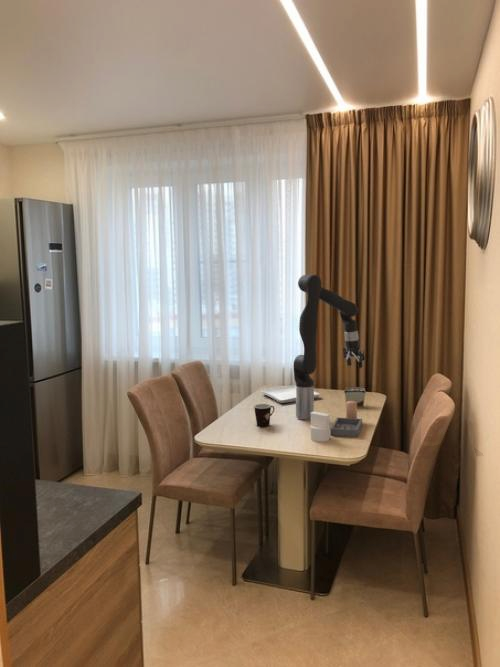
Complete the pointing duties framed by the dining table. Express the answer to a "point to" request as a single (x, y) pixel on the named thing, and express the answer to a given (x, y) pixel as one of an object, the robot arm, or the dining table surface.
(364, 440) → the dining table surface
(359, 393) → the food container
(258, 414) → the coffee mug
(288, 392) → the closed laptop
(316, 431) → the cylinder with rectangular tab
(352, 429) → the tray
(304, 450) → the dining table surface
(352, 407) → the tan upright block
